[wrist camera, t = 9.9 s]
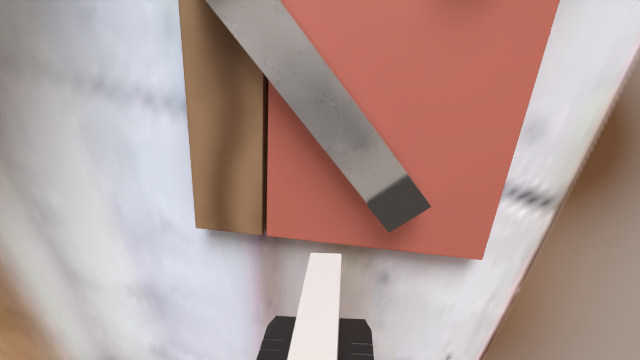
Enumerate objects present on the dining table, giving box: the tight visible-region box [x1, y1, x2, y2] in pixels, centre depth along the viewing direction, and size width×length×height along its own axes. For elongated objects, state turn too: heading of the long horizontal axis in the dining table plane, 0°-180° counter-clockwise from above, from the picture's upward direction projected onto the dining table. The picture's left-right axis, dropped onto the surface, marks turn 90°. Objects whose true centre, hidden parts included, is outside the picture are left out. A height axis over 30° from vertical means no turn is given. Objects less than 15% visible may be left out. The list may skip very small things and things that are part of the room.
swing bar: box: [206, 0, 431, 233], centre depth 23 cm, size 26×5×4 cm, turn 38°
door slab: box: [267, 0, 560, 260], centre depth 24 cm, size 22×30×6 cm
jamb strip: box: [178, 0, 269, 235], centre depth 27 cm, size 7×30×3 cm, turn 176°
